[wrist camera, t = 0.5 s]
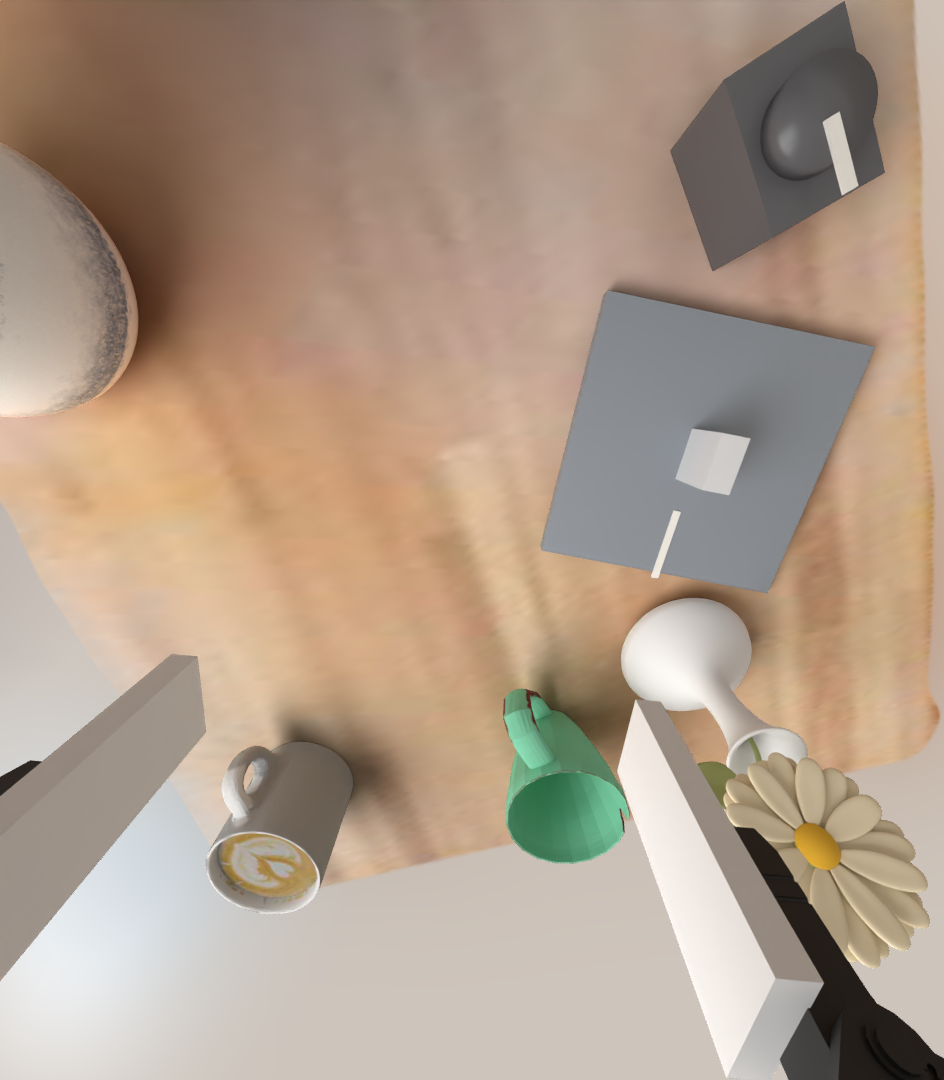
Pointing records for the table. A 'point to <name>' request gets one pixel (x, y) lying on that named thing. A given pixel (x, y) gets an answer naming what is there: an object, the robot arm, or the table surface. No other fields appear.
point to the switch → (697, 441)
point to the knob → (781, 139)
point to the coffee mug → (279, 826)
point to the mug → (558, 786)
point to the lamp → (57, 296)
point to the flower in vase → (782, 782)
